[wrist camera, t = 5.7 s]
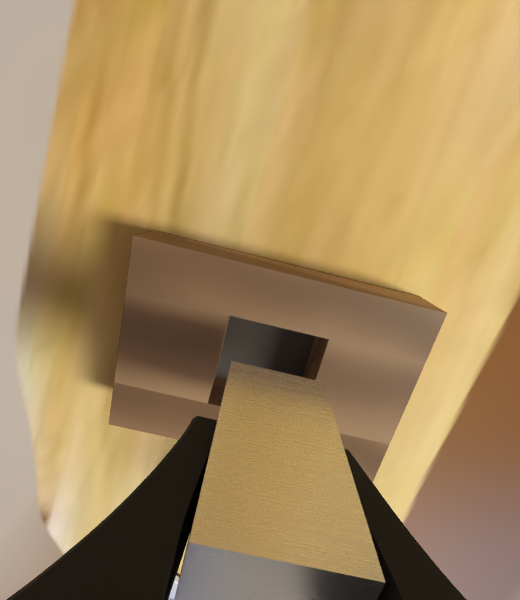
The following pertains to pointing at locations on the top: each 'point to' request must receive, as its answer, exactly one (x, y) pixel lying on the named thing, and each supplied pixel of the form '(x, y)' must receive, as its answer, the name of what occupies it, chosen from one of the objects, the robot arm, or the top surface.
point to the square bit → (278, 500)
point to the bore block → (263, 339)
